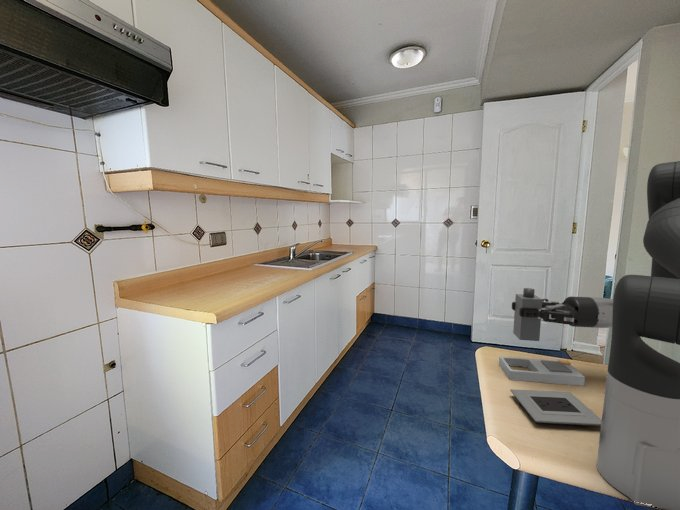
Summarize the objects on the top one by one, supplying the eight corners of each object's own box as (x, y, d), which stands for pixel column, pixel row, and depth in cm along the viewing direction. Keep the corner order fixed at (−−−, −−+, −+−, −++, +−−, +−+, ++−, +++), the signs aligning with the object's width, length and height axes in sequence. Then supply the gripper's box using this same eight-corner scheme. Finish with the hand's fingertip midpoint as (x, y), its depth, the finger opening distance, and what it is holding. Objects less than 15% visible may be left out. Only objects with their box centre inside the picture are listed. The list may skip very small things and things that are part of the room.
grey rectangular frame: (584, 385, 72) (585, 375, 71) (509, 379, 75) (510, 369, 75) (565, 369, 80) (566, 359, 79) (498, 364, 83) (499, 354, 82)
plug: (539, 341, 74) (542, 291, 72) (519, 339, 75) (523, 291, 73) (531, 334, 78) (534, 287, 77) (513, 333, 79) (516, 286, 77)
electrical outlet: (569, 400, 67) (570, 390, 67) (606, 433, 57) (607, 422, 56) (509, 397, 68) (510, 388, 68) (535, 430, 58) (536, 419, 58)
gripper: (575, 290, 79) (506, 288, 82) (612, 306, 65) (528, 303, 69) (572, 316, 80) (505, 313, 83) (609, 338, 66) (526, 333, 70)
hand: (516, 309), depth 76 cm, fingers closed on plug, 4 cm apart
